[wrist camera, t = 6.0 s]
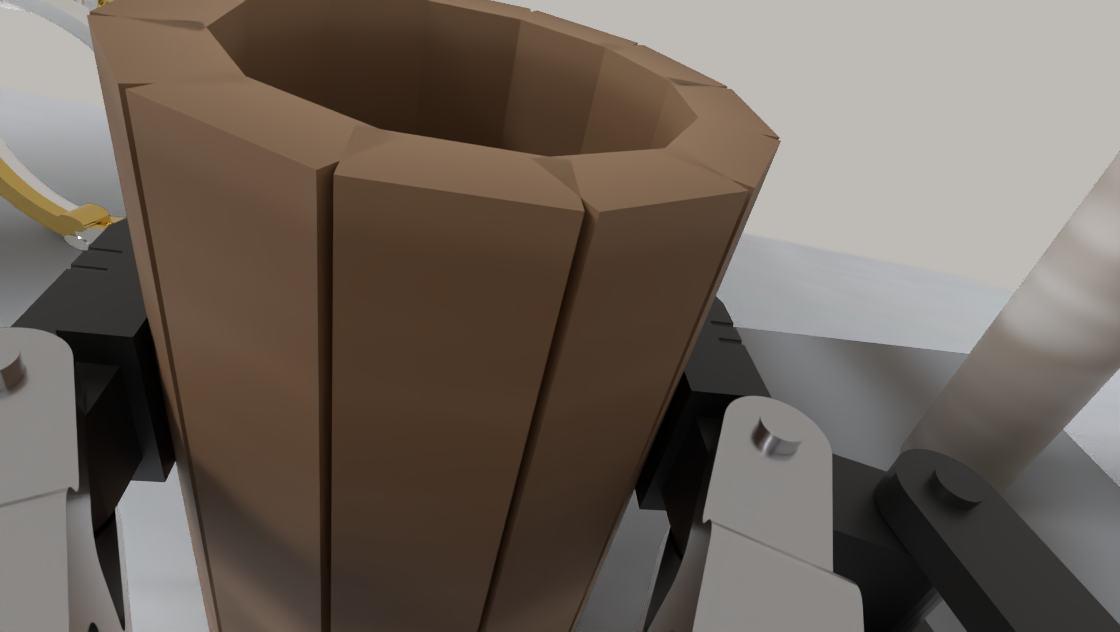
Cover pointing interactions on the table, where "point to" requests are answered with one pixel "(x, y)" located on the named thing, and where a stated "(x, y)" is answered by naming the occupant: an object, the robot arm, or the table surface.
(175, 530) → the table surface
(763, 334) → the grey post stand
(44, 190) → the ring
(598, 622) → the table surface
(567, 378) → the wooden slatted cup
